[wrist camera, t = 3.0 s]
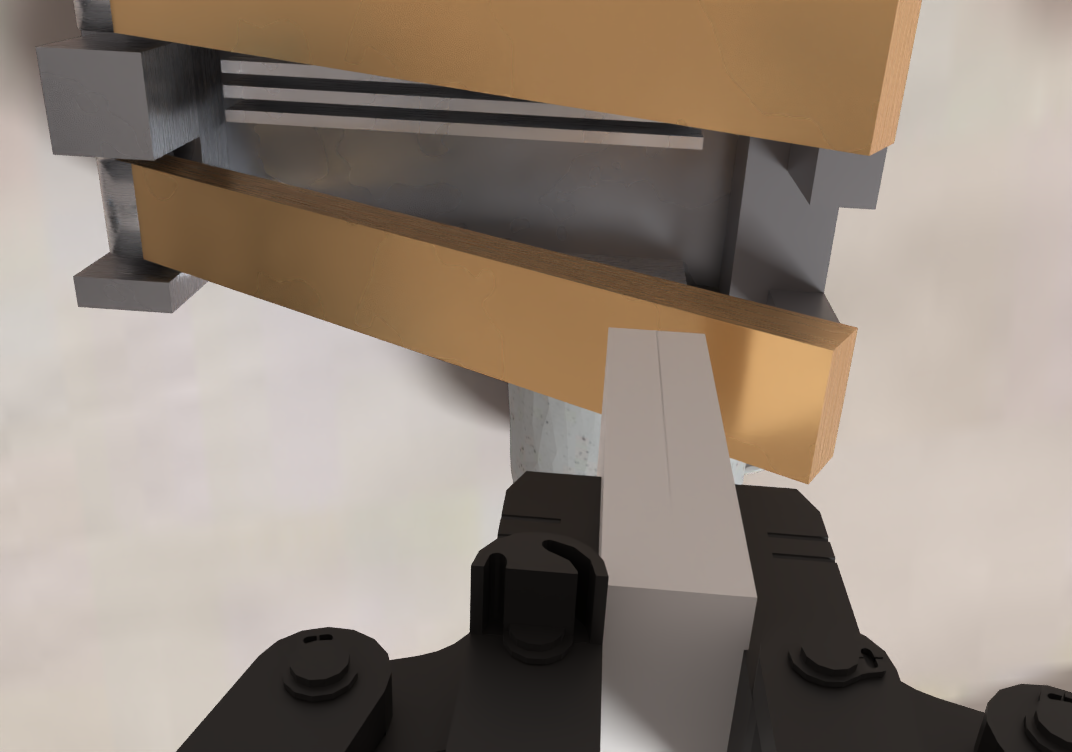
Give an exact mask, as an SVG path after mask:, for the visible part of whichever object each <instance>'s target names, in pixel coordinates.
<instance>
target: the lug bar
mask: <svg viewBox="0 0 1072 752" xmlns="http://www.w3.org/2000/svg"><path fill="white" fill-rule="evenodd" d="M886 152H887V147H886V148H884V149H882V150H880V151H878V152H876V153H874V154H872V155H870V156H867V155H860V154H854V153H848V152H842V151H836V150H830V149H824V148H818V147H811V146H805V145H799V144H793V143H787V142H781V141H775V140H769V139H762V138H756V137H750V136H744V135H738V142H737V149H736V157H735V165H734V173H733V181H732V188H731V196H730V204H729V212H728V219H727V227H726V235H725V243H724V251H723V258H722V266H721V274H720V282H719V290H720V293H721V294H725V295H729V296H733V297H737V298H741V299H745V300H749V301H753V302H757V303H761V304H765V305H769V306H773V307H777V308H781V309H785V310H789V311H793V312H797V313H801V314H805V315H809V316H813V317H817V318H821V319H825V320H829V321H833V322H837V323H840V322H839V320H838V318H837V317H836V315H835V313H834V311H833V309H832V307H831V306H830V304H829V302H828V300H827V298H826V296H825V294H824V289H825V283H826V278H827V272H828V266H829V261H830V255H831V249H832V244H833V238H834V232H835V227H836V221H837V215H838V210H839V207H844V208H860V209H876V203H877V198H878V193H879V188H880V183H881V178H882V172H883V167H884V162H885V157H886Z"/></svg>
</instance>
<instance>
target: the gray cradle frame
mask: <svg viewBox="0 0 1072 752" xmlns="http://www.w3.org/2000/svg"><path fill="white" fill-rule="evenodd" d="M81 33H82V36H81V37H76V38H72V39H67V40H63V41H59V42H54V43H50V44H46V45H41V46H37V47H36V53H37V59H38V65H39V71H40V77H41V83H42V89H43V95H44V102H45V108H46V114H47V120H48V126H49V132H50V138H51V144H52V150H53V154H54V155H70V156H86V157H103V158H119V159H135V160H152V161H154V160H156V159H158V158H160V157H162V156H163V155H165V154H167V153H169V152H173V153H174V156H176V157H180V158H184V159H188V160H192V161H196V162H200V163H204V164H208V165H212V166H216V167H220V168H224V169H228V170H232V171H236V172H240V173H244V174H248V175H252V176H256V177H260V178H264V179H268V180H272V181H276V182H280V183H284V184H288V185H291V186H295V187H299V188H303V189H307V190H311V191H315V192H319V193H323V194H327V195H331V196H335V197H339V198H343V199H347V200H351V201H355V202H359V203H363V204H367V205H371V206H375V207H379V208H383V209H387V210H391V211H395V212H399V213H403V214H407V215H411V216H415V217H419V218H423V219H427V220H431V221H435V222H439V223H443V224H447V225H451V226H455V227H459V228H463V229H467V230H471V231H475V232H479V233H483V234H487V235H490V236H494V237H498V238H502V239H506V240H510V241H514V242H518V243H522V244H526V245H530V246H534V247H538V248H542V249H546V250H550V251H554V252H558V253H562V254H566V255H570V256H574V257H578V258H582V259H586V260H590V261H594V262H598V263H602V264H606V265H610V266H614V267H618V268H622V269H626V270H630V271H634V272H638V273H642V274H646V275H650V276H654V277H658V278H662V279H666V280H670V281H674V282H678V283H682V284H685V285H694V286H709V287H719V282H720V274H721V266H722V258H723V251H724V243H725V235H726V227H727V219H728V212H729V204H730V196H731V188H732V181H733V173H734V165H735V157H736V149H737V142H738V134H732V133H726V132H720V131H713V130H707V129H701V128H695V127H689V126H683V125H677V124H671V123H664V122H658V121H652V120H646V119H640V118H634V117H628V116H622V115H616V114H609V113H603V112H597V111H591V110H585V109H579V108H573V107H567V106H560V105H554V104H548V103H542V102H536V101H530V100H524V99H518V98H511V97H505V96H499V95H493V94H487V93H481V92H475V91H469V90H462V89H456V88H450V87H444V86H438V85H432V84H426V83H420V82H413V81H407V80H401V79H395V78H389V77H383V76H377V75H371V74H364V73H358V72H352V71H346V70H340V69H334V68H328V67H322V66H316V65H309V64H303V63H297V62H291V61H285V60H279V59H273V58H267V57H260V56H254V55H248V54H242V53H236V52H230V51H224V50H218V49H211V48H205V47H199V46H193V45H187V44H181V43H175V42H169V41H162V40H156V39H150V38H144V37H138V36H132V35H126V34H120V33H111V32H92V31H84V30H81ZM73 278H74V284H75V290H76V296H77V302H78V307H89V308H103V309H118V310H132V311H147V312H161V313H173V312H174V311H175V310H177V309H178V308H179V307H180V306H181V305H182V304H183V303H184V302H186V301H187V300H188V299H189V298H190V297H191V296H192V295H193V294H194V293H196V292H197V291H198V290H199V289H200V288H201V287H202V286H203V285H204V284H206V283H207V282H208V281H207V280H204V279H201V278H198V277H195V276H192V275H189V274H186V273H183V272H180V271H177V270H174V269H171V268H168V267H165V266H162V265H160V264H157V263H154V262H151V261H148V260H145V259H127V258H121V257H117V256H115V255H113V254H111V253H110V252H109V253H108V254H106V255H105V256H103V257H102V258H100V259H99V260H97V261H96V262H94V263H93V264H91V265H90V266H88V267H87V268H85V269H84V270H82V271H81V272H79V273H78V274H76V275H75V276H73Z"/></svg>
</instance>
